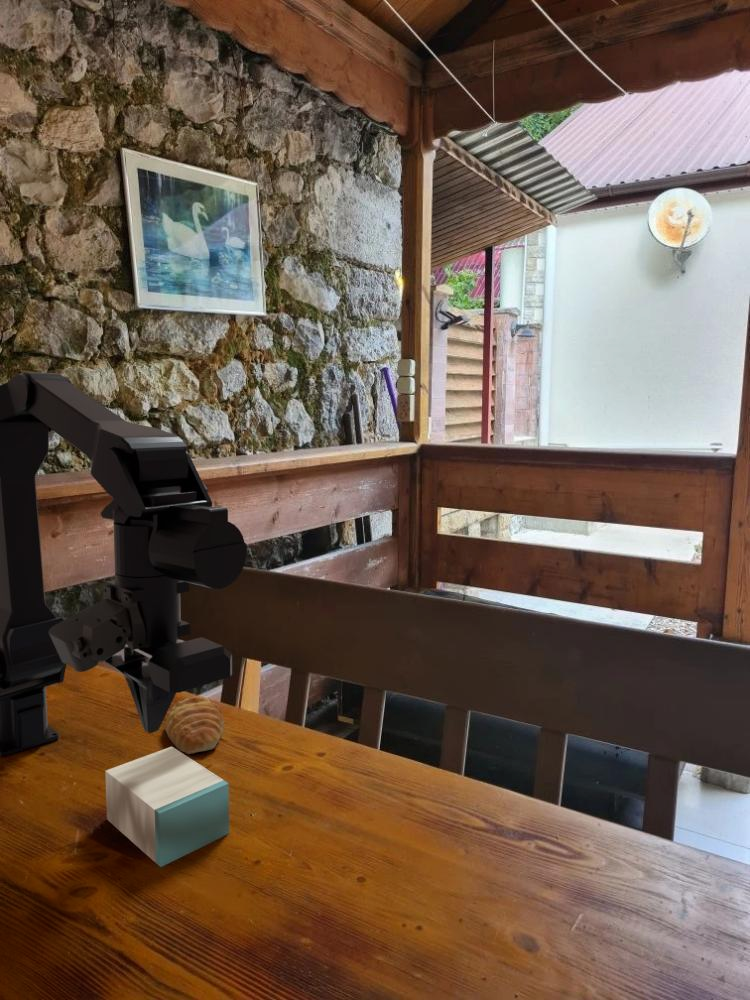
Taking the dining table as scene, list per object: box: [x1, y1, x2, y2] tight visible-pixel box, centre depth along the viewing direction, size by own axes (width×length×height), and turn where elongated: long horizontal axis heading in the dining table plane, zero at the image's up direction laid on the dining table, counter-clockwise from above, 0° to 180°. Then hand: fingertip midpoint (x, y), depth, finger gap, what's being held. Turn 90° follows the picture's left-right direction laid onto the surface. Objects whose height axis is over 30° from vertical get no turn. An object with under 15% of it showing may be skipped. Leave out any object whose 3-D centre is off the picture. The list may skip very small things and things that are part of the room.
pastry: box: [164, 695, 225, 755], centre depth 85 cm, size 9×7×4 cm
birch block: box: [104, 746, 230, 868], centre depth 67 cm, size 5×7×10 cm
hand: (151, 731), depth 68 cm, fingers closed
